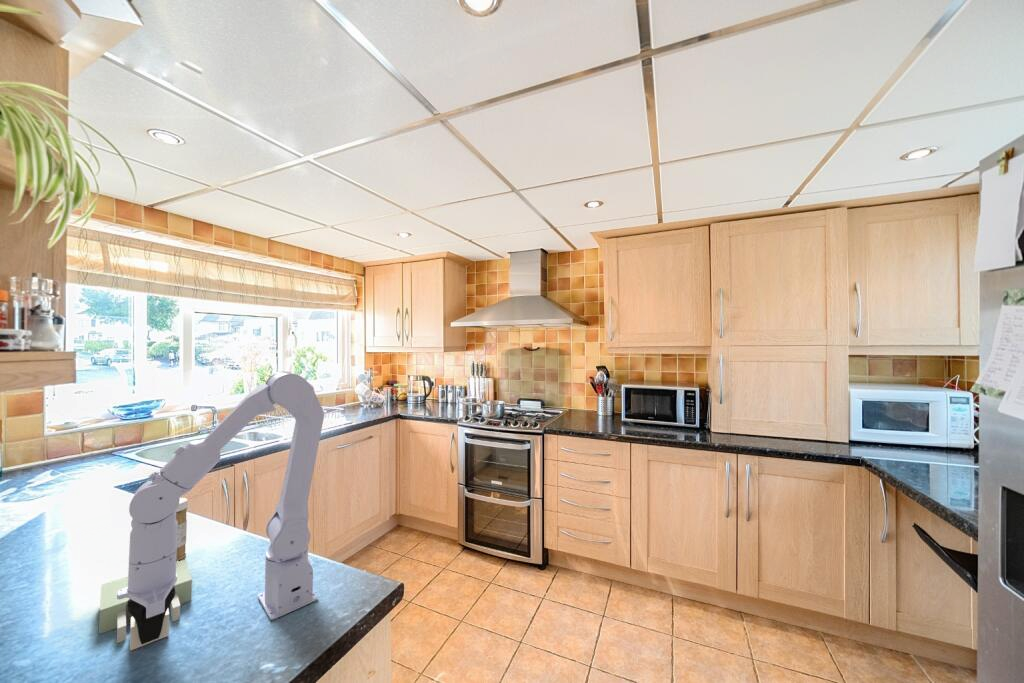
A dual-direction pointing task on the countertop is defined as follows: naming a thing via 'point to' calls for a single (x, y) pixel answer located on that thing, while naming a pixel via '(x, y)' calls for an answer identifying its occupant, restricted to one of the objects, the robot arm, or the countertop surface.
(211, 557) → the countertop surface
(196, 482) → the robot arm
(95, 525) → the countertop surface
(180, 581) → the deck
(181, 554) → the sprinkles bottle
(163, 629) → the cream small block
